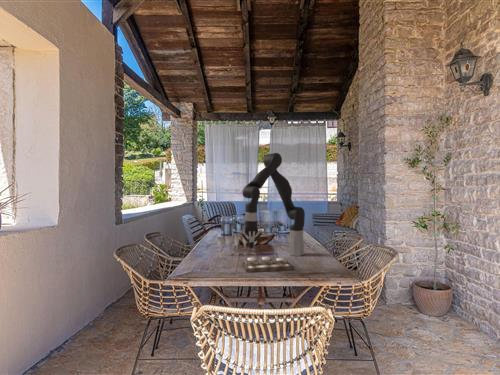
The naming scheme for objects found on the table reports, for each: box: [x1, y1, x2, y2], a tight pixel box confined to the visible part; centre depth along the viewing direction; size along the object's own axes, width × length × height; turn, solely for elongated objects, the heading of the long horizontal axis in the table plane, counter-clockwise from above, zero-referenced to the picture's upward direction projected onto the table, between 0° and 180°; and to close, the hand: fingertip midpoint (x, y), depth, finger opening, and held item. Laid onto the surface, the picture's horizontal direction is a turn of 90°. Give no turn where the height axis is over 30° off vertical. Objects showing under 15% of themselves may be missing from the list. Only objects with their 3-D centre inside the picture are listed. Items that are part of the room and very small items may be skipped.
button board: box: [241, 257, 294, 273], centre depth 227 cm, size 28×16×4 cm, turn 101°
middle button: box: [261, 256, 271, 261], centre depth 229 cm, size 5×5×2 cm
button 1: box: [246, 256, 257, 262], centre depth 227 cm, size 5×5×2 cm
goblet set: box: [216, 234, 258, 256], centre depth 263 cm, size 28×6×13 cm, turn 92°
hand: (251, 248), depth 227 cm, fingers closed
